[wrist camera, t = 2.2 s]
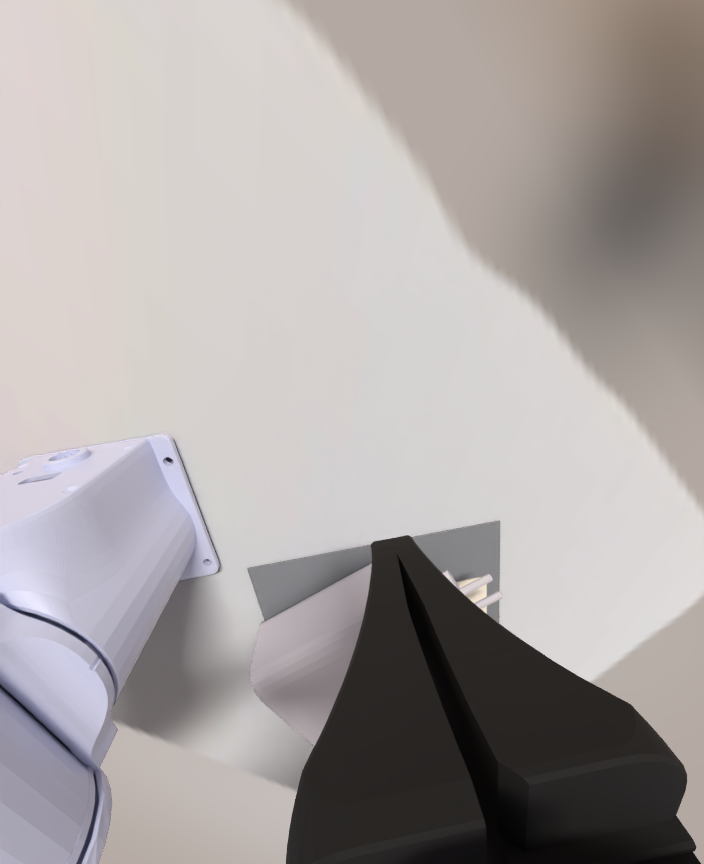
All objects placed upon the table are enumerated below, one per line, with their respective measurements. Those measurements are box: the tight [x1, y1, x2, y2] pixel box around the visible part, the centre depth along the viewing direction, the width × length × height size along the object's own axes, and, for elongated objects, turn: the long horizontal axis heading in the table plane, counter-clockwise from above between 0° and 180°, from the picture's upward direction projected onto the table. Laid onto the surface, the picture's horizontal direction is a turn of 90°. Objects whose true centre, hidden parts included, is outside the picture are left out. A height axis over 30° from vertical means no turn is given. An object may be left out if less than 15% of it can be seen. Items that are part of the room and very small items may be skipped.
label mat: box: [247, 521, 500, 623], centre depth 25 cm, size 18×17×1 cm
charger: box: [250, 564, 502, 746], centre depth 21 cm, size 5×9×15 cm
